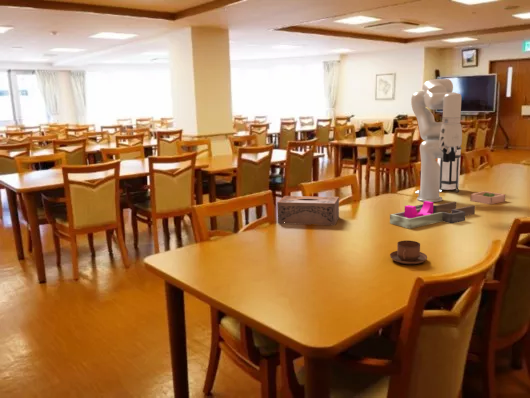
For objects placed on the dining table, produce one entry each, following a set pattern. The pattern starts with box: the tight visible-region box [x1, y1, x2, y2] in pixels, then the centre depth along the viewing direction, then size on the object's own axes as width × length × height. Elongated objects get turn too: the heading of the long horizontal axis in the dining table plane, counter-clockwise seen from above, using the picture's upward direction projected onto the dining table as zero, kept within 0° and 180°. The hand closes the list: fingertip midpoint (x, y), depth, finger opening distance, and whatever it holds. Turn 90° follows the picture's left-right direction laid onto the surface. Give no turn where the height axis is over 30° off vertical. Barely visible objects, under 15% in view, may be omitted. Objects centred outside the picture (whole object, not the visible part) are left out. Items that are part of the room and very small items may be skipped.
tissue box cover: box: [276, 195, 340, 226], centre depth 218 cm, size 26×14×10 cm, turn 74°
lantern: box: [437, 145, 463, 193], centre depth 271 cm, size 17×16×30 cm
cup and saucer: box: [389, 240, 428, 265], centre depth 161 cm, size 12×12×6 cm
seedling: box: [483, 192, 495, 197], centre depth 240 cm, size 6×7×6 cm
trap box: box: [389, 201, 476, 230], centre depth 214 cm, size 21×42×4 cm, turn 120°
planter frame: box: [469, 190, 506, 205], centre depth 244 cm, size 12×12×4 cm
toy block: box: [404, 201, 434, 218], centre depth 211 cm, size 15×6×8 cm, turn 125°
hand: (448, 161), depth 220 cm, fingers open, 3 cm apart
